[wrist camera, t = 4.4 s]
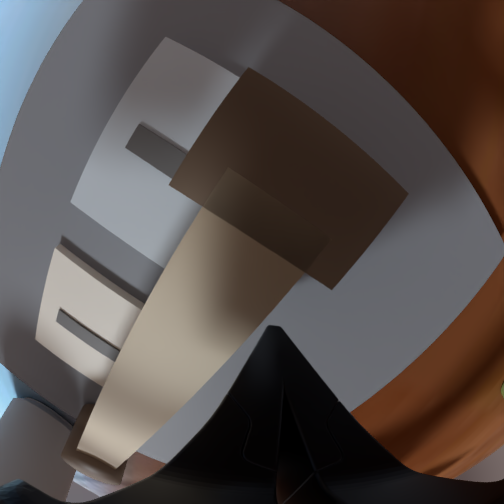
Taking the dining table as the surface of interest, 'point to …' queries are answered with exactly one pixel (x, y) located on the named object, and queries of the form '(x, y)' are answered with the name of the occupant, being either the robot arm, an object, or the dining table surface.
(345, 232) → the bar
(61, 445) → the can
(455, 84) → the dining table surface
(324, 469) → the robot arm
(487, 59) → the dining table surface
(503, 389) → the plant pot
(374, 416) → the dining table surface
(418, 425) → the dining table surface
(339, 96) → the panel
